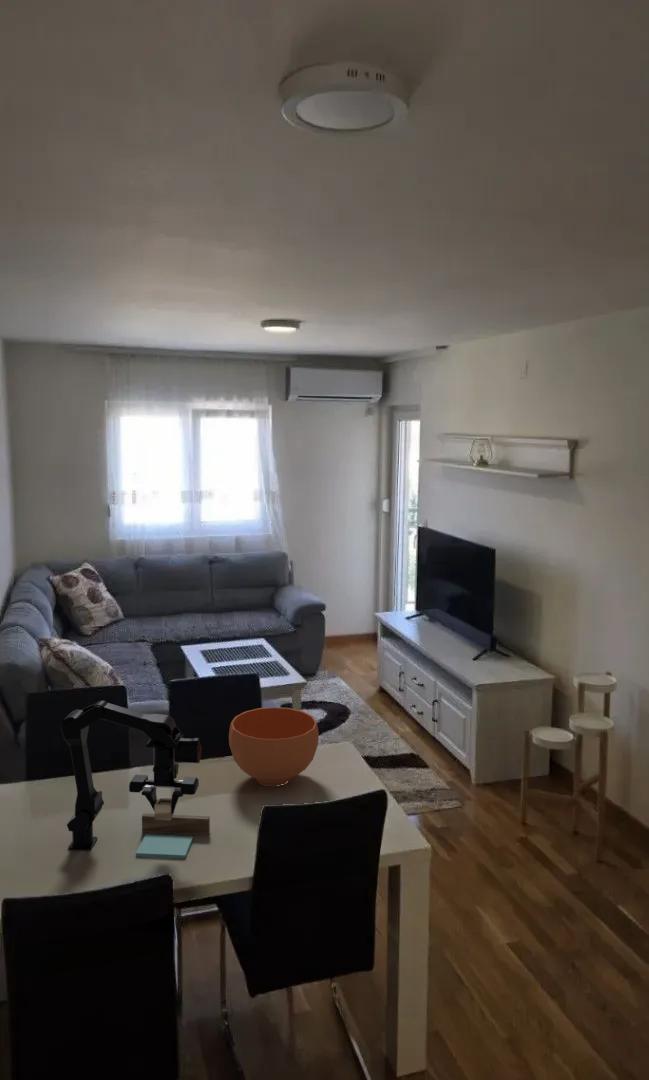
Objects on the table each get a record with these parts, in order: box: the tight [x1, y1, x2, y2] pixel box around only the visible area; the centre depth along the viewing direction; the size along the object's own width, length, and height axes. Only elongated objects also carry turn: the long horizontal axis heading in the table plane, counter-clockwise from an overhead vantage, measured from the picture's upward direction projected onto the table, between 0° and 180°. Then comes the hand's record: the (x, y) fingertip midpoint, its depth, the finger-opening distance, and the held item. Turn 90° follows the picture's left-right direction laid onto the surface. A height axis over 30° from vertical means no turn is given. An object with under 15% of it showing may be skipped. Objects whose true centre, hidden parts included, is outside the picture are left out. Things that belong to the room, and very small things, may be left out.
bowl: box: [228, 706, 320, 787], centre depth 268 cm, size 30×30×20 cm
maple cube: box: [154, 796, 175, 820], centre depth 224 cm, size 4×4×5 cm
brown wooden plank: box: [141, 813, 211, 836], centre depth 234 cm, size 2×20×5 cm, turn 87°
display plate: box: [135, 834, 194, 859], centre depth 225 cm, size 10×14×1 cm
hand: (164, 812), depth 224 cm, fingers closed on maple cube, 4 cm apart
